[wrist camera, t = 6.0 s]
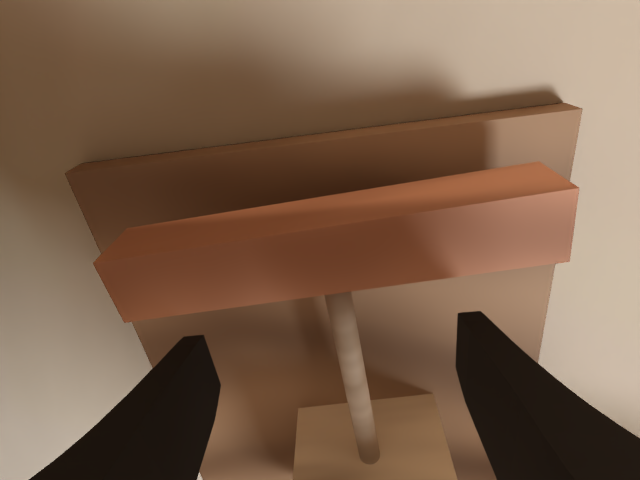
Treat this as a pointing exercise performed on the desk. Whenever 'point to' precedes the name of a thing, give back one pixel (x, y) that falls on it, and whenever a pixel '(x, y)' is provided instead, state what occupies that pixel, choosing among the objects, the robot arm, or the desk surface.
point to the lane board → (311, 313)
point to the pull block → (349, 286)
